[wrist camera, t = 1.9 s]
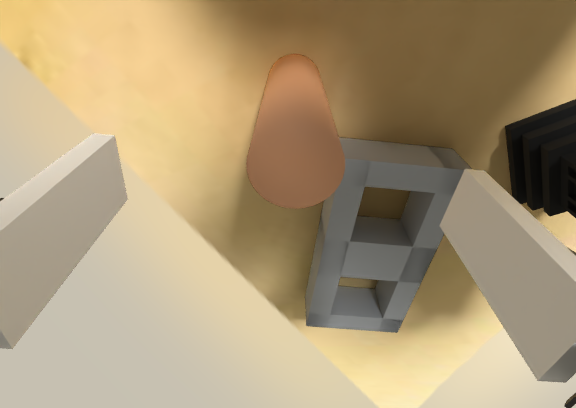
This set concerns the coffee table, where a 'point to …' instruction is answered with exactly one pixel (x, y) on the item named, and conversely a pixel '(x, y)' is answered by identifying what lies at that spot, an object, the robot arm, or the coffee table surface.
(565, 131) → the chess piece
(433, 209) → the socket board
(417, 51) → the coffee table surface
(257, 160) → the dowel
